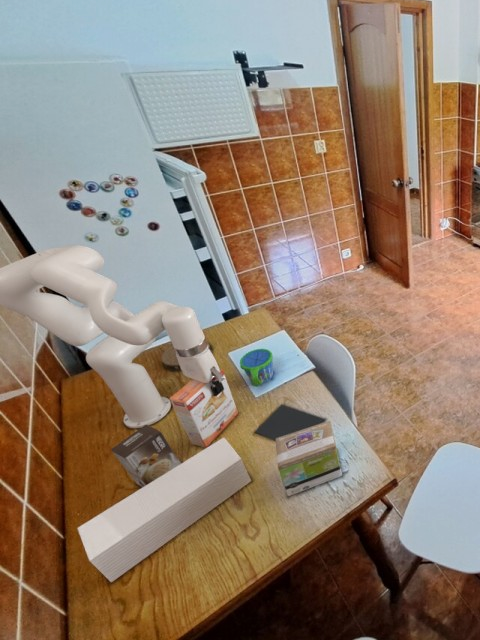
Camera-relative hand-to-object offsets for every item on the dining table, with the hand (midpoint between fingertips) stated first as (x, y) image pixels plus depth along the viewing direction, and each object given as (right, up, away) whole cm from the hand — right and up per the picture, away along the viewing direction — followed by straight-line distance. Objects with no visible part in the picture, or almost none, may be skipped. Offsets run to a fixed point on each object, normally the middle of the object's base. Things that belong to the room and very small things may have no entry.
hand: (210, 389), depth 121 cm
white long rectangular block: (+4, -29, -17) cm, 34 cm away
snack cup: (+2, -3, +25) cm, 26 cm away
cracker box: (-2, -14, +5) cm, 16 cm away
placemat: (+21, -15, +8) cm, 27 cm away
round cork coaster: (-32, +4, +34) cm, 47 cm away
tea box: (+35, -24, -6) cm, 43 cm away
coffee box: (-9, -23, -8) cm, 26 cm away
